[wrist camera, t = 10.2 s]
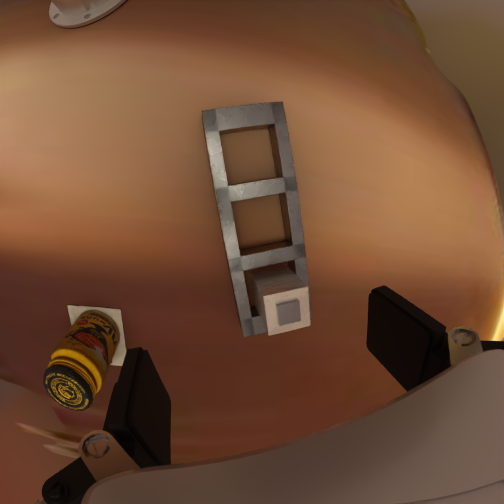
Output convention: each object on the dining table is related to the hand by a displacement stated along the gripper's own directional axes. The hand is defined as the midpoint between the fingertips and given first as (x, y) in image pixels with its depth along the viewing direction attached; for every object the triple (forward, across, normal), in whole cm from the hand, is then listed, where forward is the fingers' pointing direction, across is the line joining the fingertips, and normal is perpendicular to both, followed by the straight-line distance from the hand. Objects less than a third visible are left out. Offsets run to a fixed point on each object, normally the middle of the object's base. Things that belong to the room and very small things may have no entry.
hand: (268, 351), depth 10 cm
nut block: (+20, -4, +6) cm, 21 cm away
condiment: (+20, +18, +9) cm, 29 cm away
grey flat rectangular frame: (+20, -4, -1) cm, 21 cm away
